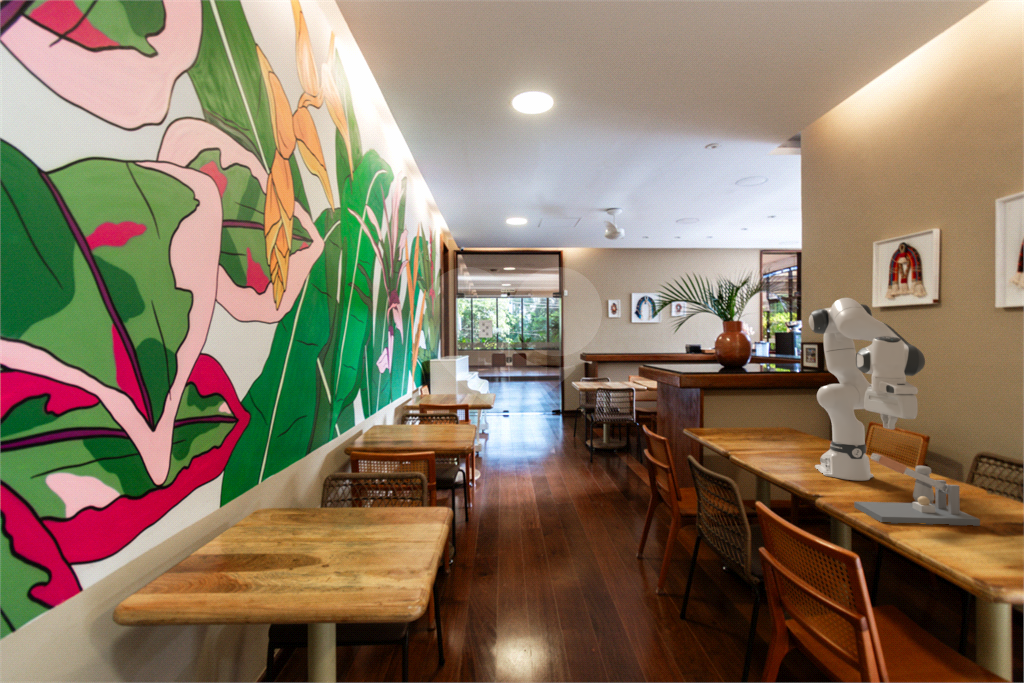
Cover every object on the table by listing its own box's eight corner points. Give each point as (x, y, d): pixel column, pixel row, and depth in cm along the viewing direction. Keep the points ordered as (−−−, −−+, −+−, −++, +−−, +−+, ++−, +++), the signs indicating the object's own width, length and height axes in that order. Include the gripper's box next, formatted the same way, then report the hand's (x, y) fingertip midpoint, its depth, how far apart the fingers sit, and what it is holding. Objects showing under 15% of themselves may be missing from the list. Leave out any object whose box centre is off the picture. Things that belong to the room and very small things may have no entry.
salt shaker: (926, 500, 168) (926, 464, 168) (939, 506, 163) (938, 468, 163) (908, 500, 169) (908, 464, 169) (920, 506, 163) (920, 468, 163)
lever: (944, 494, 155) (949, 485, 155) (953, 498, 151) (958, 488, 151) (868, 460, 157) (872, 451, 157) (875, 463, 154) (879, 453, 153)
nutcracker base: (943, 509, 160) (943, 477, 160) (980, 525, 146) (979, 490, 146) (854, 507, 163) (854, 475, 163) (881, 523, 149) (881, 487, 149)
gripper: (858, 383, 166) (858, 423, 165) (899, 389, 145) (900, 434, 145) (877, 383, 165) (878, 423, 165) (922, 389, 144) (922, 434, 144)
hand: (889, 428), depth 155 cm, fingers closed
